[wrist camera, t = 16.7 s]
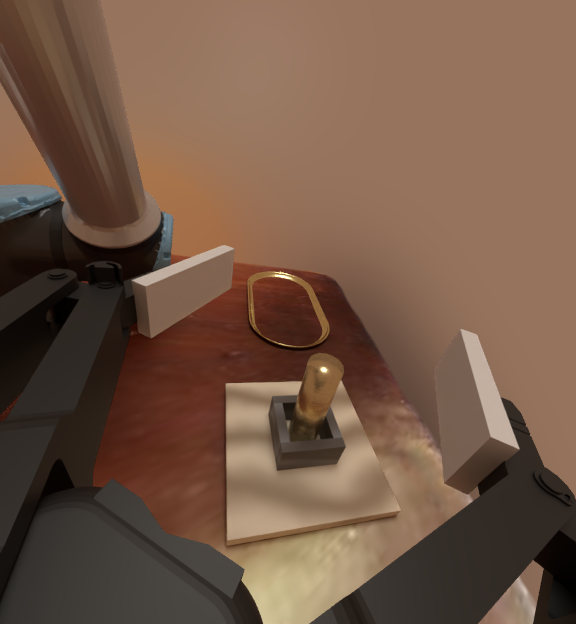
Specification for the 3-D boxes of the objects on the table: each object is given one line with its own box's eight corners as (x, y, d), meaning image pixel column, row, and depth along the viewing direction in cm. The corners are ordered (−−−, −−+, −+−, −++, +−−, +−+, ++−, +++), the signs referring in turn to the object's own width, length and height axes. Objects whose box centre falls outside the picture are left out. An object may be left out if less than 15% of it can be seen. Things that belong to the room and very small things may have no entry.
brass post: (283, 425, 38) (304, 353, 30) (310, 423, 39) (336, 353, 31) (289, 453, 35) (313, 380, 27) (318, 450, 36) (349, 379, 28)
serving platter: (305, 279, 86) (306, 274, 85) (337, 354, 57) (340, 348, 56) (246, 273, 82) (246, 268, 81) (249, 350, 53) (250, 344, 52)
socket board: (225, 389, 43) (227, 365, 40) (338, 386, 49) (347, 364, 46) (226, 546, 27) (229, 523, 24) (396, 515, 32) (415, 494, 29)
